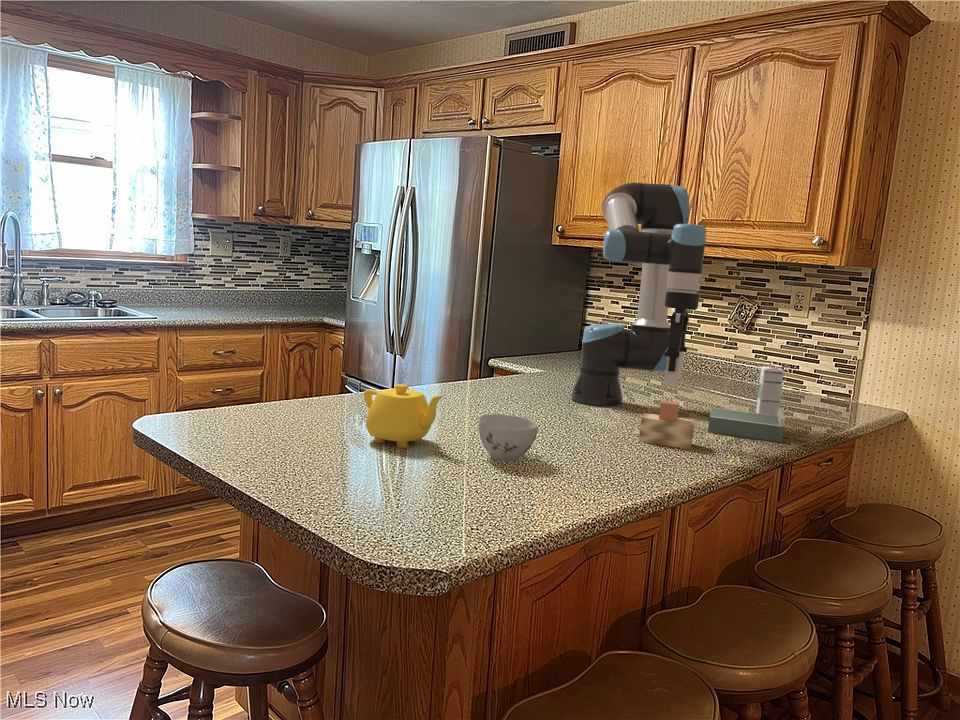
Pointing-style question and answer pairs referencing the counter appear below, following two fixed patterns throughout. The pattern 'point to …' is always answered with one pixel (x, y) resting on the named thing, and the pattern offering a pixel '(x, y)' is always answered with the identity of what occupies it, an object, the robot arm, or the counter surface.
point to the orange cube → (669, 410)
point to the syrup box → (769, 390)
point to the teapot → (399, 415)
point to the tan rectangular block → (666, 431)
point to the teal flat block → (747, 424)
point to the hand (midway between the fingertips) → (672, 381)
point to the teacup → (507, 435)
